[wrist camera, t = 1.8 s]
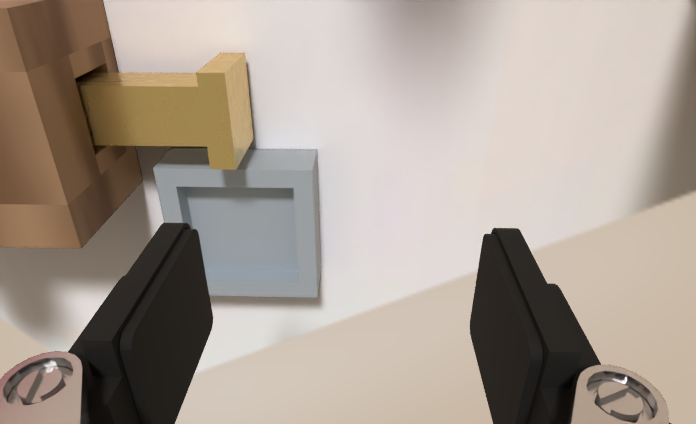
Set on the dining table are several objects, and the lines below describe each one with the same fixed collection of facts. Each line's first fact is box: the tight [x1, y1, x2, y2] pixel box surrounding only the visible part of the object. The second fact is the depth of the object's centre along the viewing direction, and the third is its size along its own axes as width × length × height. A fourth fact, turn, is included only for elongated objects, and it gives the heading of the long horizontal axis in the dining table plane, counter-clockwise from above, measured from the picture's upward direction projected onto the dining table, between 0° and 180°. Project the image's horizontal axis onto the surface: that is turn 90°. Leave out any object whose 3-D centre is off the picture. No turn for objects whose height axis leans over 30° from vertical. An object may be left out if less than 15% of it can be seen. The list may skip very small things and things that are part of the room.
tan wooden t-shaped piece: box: [76, 53, 253, 170], centre depth 24 cm, size 7×4×4 cm, turn 90°
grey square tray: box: [153, 148, 321, 298], centre depth 28 cm, size 8×8×3 cm
